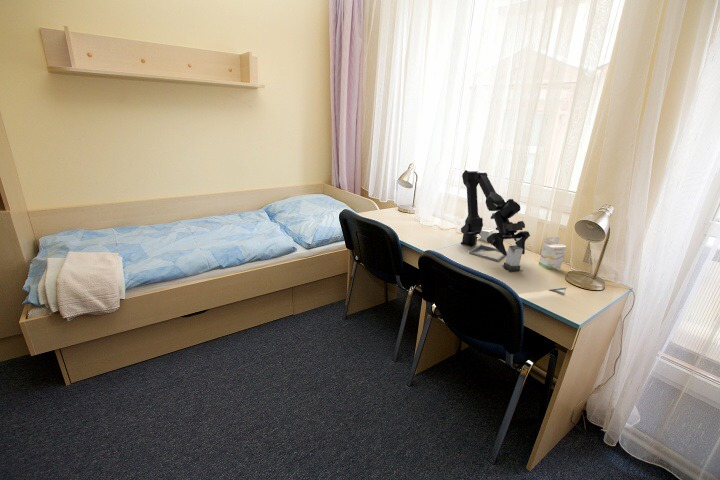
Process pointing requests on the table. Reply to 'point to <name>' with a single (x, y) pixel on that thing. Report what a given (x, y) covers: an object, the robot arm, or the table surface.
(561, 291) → the external hard drive
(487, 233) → the beige cube
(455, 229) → the table surface
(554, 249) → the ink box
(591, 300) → the table surface
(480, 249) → the tray
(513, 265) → the strut
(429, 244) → the table surface
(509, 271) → the stud plate
